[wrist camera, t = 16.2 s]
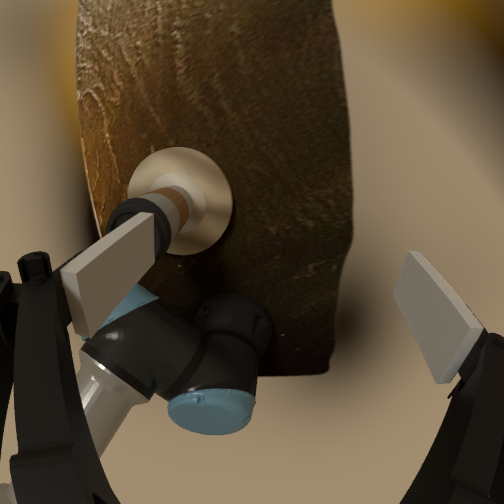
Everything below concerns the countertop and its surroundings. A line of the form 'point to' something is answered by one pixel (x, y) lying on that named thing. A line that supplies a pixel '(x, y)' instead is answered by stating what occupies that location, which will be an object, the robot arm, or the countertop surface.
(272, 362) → the countertop surface
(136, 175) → the cream round saucer
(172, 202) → the coffee cup
